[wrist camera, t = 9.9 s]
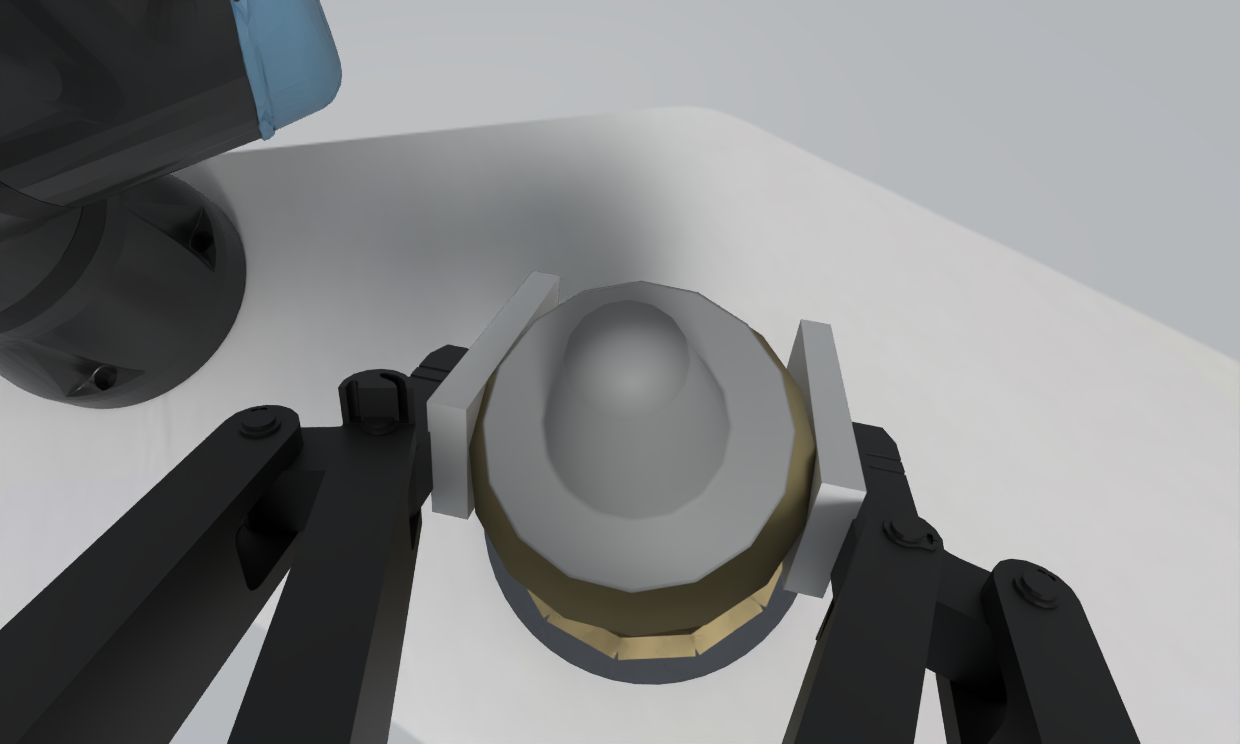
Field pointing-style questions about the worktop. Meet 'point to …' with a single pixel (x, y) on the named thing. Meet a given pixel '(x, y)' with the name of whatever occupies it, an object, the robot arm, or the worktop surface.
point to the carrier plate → (640, 665)
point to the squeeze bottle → (642, 459)
